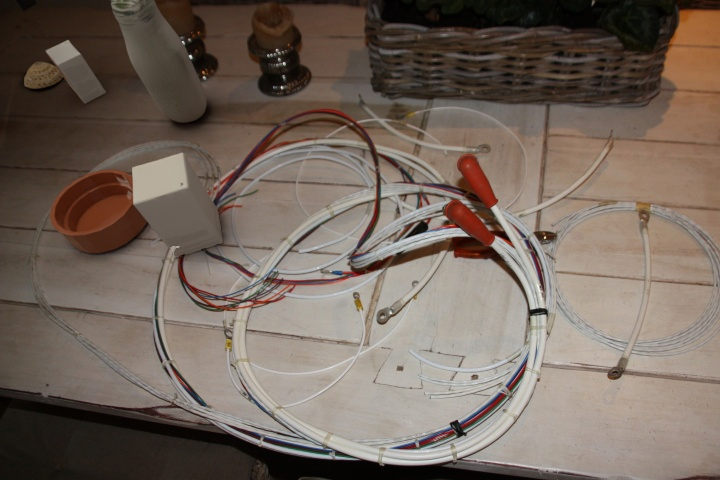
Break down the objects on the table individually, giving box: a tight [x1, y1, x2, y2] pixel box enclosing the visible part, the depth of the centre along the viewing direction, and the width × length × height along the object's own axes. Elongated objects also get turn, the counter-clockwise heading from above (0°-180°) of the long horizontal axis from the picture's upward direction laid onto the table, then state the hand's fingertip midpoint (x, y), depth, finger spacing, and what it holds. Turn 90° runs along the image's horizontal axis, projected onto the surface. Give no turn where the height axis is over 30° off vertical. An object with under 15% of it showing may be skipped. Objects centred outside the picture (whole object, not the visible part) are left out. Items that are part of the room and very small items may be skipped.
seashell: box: [23, 60, 64, 90], centre depth 131 cm, size 8×6×8 cm
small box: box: [44, 39, 107, 105], centre depth 123 cm, size 8×6×10 cm
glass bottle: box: [110, 0, 208, 123], centre depth 107 cm, size 10×10×28 cm
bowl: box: [49, 168, 148, 254], centre depth 101 cm, size 16×16×6 cm
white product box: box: [131, 152, 224, 257], centre depth 93 cm, size 9×9×15 cm
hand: (16, 0), depth 108 cm, fingers open, 9 cm apart
